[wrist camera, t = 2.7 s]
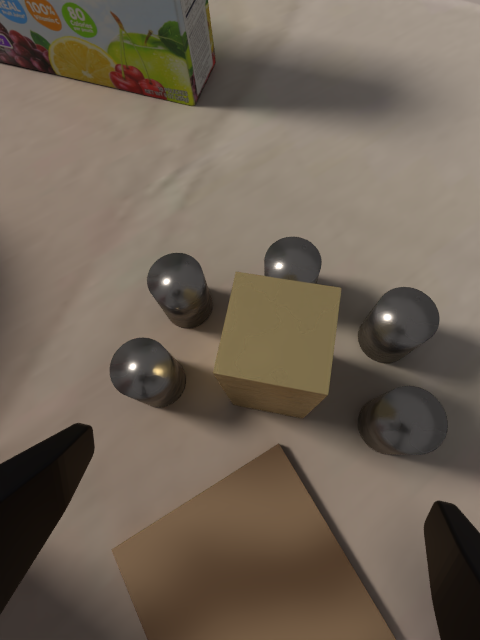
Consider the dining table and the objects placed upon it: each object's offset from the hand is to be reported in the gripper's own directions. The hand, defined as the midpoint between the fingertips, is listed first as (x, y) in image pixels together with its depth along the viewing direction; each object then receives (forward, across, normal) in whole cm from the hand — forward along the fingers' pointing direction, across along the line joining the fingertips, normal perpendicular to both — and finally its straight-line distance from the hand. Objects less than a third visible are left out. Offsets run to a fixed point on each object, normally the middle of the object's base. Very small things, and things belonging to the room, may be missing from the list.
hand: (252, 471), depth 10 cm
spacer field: (+13, 0, +3) cm, 13 cm away
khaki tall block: (+11, 0, +5) cm, 12 cm away
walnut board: (+4, 0, +12) cm, 13 cm away
